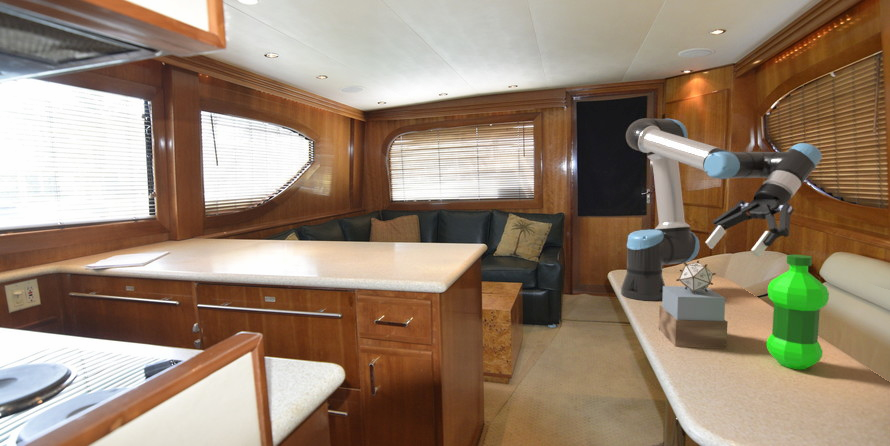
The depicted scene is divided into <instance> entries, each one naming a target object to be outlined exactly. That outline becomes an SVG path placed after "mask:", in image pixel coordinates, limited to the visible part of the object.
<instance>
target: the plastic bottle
mask: <svg viewBox="0 0 890 446" xmlns="http://www.w3.org/2000/svg"><path fill="white" fill-rule="evenodd" d="M786 264H787V265H789V267H788V268H789V270H787V271H786V272H783V273H782V274H780V275H778V276H777V277H775V278H773V279H771V280H770V282H769V283H768V286H767V295H768V299H769V300H770V301H771V302H772V303H773V313H772V314H773V317H772V330H771V331H772V333H771V334H770V335H769V337H768V338H767V340H766V348H767V350H768V352H769V354H770V355H771V356H772V357H773V359H774V360H775V361H776V362H777V363H779V365H780V366H783V367H786V368H789V369H794V370H806V369H808V368H810V367H812V366H814V365H815V364H817V363H818V362H820V360H821V359H822V358H823V353H824V352H823V349H822V346H821V344H820V342H819V341H818V337H819V325H820V323H819V321H820V312H821V309H822V308H824V307H826V306H827V304H828V301H829V299H830V298H829V297H830V296H829V295H830V293H829V290H828V287H827V286H826V285H825V284H824V283H822V282H821V281H820V280H818V279H817V278H816V277H815V276H814V275H812V274H811V273H810V272H809V267H810V266H812V264H813V257H812V256H811V255H805V254H787V255H786Z"/></svg>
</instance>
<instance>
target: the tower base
mask: <svg viewBox="0 0 890 446" xmlns="http://www.w3.org/2000/svg"><path fill="white" fill-rule="evenodd" d="M658 314H659V315H658V316H659V319H658V320H659V321H658V330H660V331H661V332H662V333H663V334H664V335H663V336H664V337H665V338H666V339H668V341H669V342H670V343H671V344H672V345H673V346H674V347H678V348H679V347H680V348H681V347H683V348H684V347H685V348H709V349H710V348H713V349H727V344H728V343H727V340H728V321H727V320H725V319H724V321H698V320H677V319H676V318H674V317H673V316H672V315H671V314H670V313H669V312H667V311H666V310H665V309H664V308H663V307H662V305H661V306H659V313H658ZM660 331H659V332H660ZM661 332H660V333H661ZM662 333H661V334H662Z"/></svg>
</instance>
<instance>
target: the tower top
mask: <svg viewBox="0 0 890 446" xmlns="http://www.w3.org/2000/svg"><path fill="white" fill-rule="evenodd" d="M685 287H686V286H685V285H684V286H683V285H681V286H678V285H665V286H663V299H662V300H661V301H662V305H661V306H662V307H663V308H664V309H665V310H666V311H667V312H669V313H670V314H671V315H672V316H673V317H674V318H676V319H677V320H698V321H724V320H725V315H726V314H725V312H726V309H725V308H726V297H725V296H723V295H721V294H719V293H718V292H716V291H714V290H712V289H711V288H708V287H707V290H708V292H706V291H705V290H700V291H695V294H693V291H692V290H690V289H689V288H687V289H685Z"/></svg>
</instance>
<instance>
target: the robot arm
mask: <svg viewBox="0 0 890 446" xmlns="http://www.w3.org/2000/svg"><path fill="white" fill-rule="evenodd" d="M688 137H689V136H688V130H687V127H686V126H685V125H684V123H683V122H681V121H679V120H677V119H672V118H649V117H648V118H646V117H645V118H640V119H637V120H635V121H633V122H632V123H631V124H630V125H629V126H628V128H627V130H626V132H625V139H626V142H627V145H628V146H629V147H630V148H631V149H632V150H635V151H639V152H642V153H643V154H644V153H646V154H647V156H646V157H647V158H648V160H650V161H652V169H653V171H652V173H653V177H654V181H653V182H654V189H655V199H656V207H657V208H656V209H657V217H658V225H657V226H656V227H655V228H654V229H641V230H635V231H632V232H630V233H629V234H628V235H627V243H626V274H625V277H624V278H623V282H622V285H621V287H620V294H621V295H622V296H624V297H626V298H628V299H629V298H630V299H634V300H638V301H651V302H652V301H662V299H663V286H666V284H665V283H666V282H665V280H664V278H663V266H665V265H666V266H667V265H678V264H684V262H686V263H688V262H691V261H693V260H694V259H695V258H696V257H697V256H698V254H699V251H700V248H701V247H700V245H701V244H700V240H699V237H698V236H696V234H695V233H694V232H693V231H691V225H690V224H688V223H687V222H686V221H685V210H684V201H683V192H682V184H681V175H680V174H681V173H680V166H679V164H680V163H681V164H684V165H687V166H690V167H693V168H695V169H698V170H701V171H704V172H705V173H706V174H707V176H709V177H711V178H712V179H718V180H728V179H752V178H756V179H757V178H760V179H765V178H766V179H765V180H764V181H763V182H762V185H760V187H759V188H758V189H757V190H756V192H755V193H754V195H753V199H752V200H751V201H750V202H749V203H748V202H745V200H744V199H743V200H738V202H737V203H736V205H734V206H733V207H731V208H730V209H728V210H727V211H726V212H724V213H722V214H721V215H719V216H718V217H717V218H714V219H713V220H712V224H713V225H714V228H713V230H712V231H711V233H710V234H709V236H708V238H707V239H706V241H705V242H704V243H705V244H706V245H707V247H708V248H709V249H711V250H713V249H714V247H716V245H717V244H718V243H719V241H720V240H721V239H722V238H723V236H724V235H725V234H726V233H727V231H726V230H728V229H729V228H731V227H734V226H736V225H738V224H740V223H742V222H744V221H749V220H751V219H756V220H758V219H760V220H766V221H767V225H768V230H765V231H764V232H763V234H762V235H761V236H760V237H759V239H758V241H756V243H755V244H754V246H753V247H752V248H751V249H750V251H751V253H753V254H754V256H755V257H756V258H760V257H761V256H762V255H763V253H764V252H765V250H766V249H767V248H768V247H771V246H772V245H773V244H774V242H775V241H776V240H777V239H779V238H780V237H784V238H786V237H789V235H790V230H791V229H790V228H791V227H790V226H791V215H792V214H793V213H794V208H793V207H792V206H791V204H790V203H789V202H790V201H791V198H793V197H794V195H795V194H796V193H797V191H798V190H799V189H800V188H801V186H802V185H803V184H804V182H805V181H806V180H807V179H808V177H809V176H810V175H811V174H812V173H813V171H814V170H816V169H817V166H818V165H819V164H820V161H821V160H822V152H821V151H820V149H819V148H818V147H816V146H815V145H813V144H810V143H806V142H805V143H804V142H800V143H797V144H794V145H792V146H791V147H790V148H789V149H788V151H736V152H735V151H731V150H727V149H724V148H720V147H717V146H714V145H710V144H708V143H704V142H700V141H698V140H695V139H694V140H693V139H690V138H688ZM747 212H748V214H747ZM777 213H779V222H778V223H779V224H777V222H776V221H777V220H776V218H775V215H776V214H777Z"/></svg>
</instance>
